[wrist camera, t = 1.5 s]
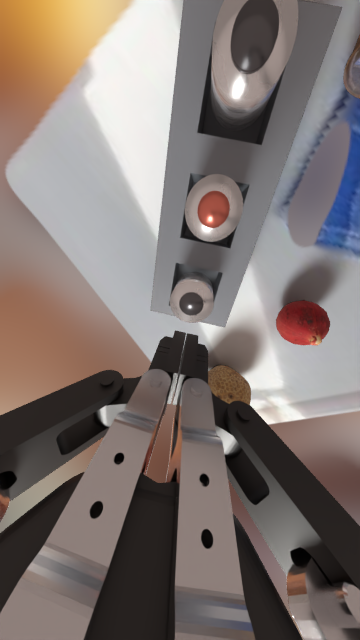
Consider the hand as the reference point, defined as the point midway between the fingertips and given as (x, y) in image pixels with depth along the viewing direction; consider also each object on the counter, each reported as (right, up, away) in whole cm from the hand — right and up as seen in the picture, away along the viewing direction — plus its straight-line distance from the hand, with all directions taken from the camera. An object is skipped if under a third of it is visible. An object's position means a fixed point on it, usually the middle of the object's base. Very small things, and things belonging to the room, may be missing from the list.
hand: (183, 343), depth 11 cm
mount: (+4, +15, +11) cm, 19 cm away
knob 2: (+4, +19, +1) cm, 19 cm away
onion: (+17, +3, +15) cm, 23 cm away
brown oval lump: (+8, -8, +23) cm, 26 cm away
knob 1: (+1, +5, +9) cm, 11 cm away
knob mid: (+3, +12, +5) cm, 13 cm away
